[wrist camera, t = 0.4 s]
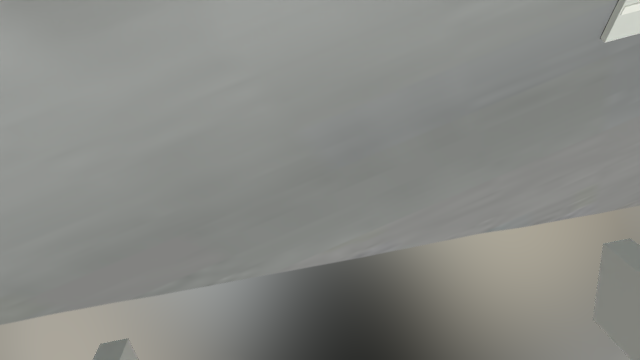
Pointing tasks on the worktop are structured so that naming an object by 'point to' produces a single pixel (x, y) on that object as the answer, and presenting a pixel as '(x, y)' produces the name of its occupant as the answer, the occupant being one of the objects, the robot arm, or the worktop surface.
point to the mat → (623, 21)
